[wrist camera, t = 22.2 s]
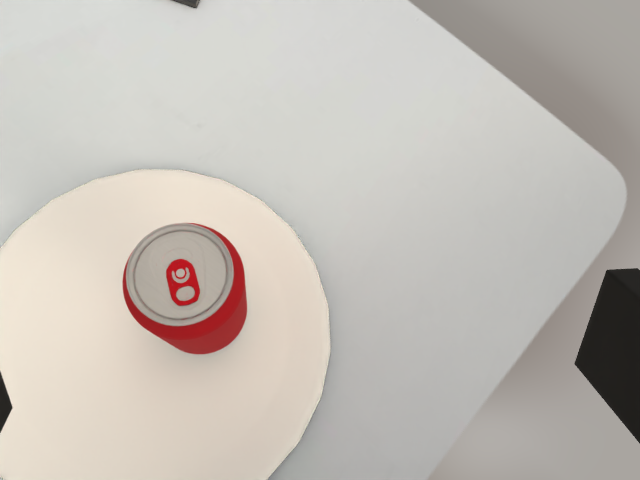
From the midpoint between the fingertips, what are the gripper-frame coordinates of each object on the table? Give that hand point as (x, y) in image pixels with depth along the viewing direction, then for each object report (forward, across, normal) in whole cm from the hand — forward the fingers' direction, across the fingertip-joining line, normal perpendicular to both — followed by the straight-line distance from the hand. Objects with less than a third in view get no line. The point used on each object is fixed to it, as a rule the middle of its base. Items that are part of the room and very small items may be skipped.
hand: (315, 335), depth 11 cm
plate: (+22, -8, -17) cm, 29 cm away
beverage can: (+22, -5, -15) cm, 27 cm away
